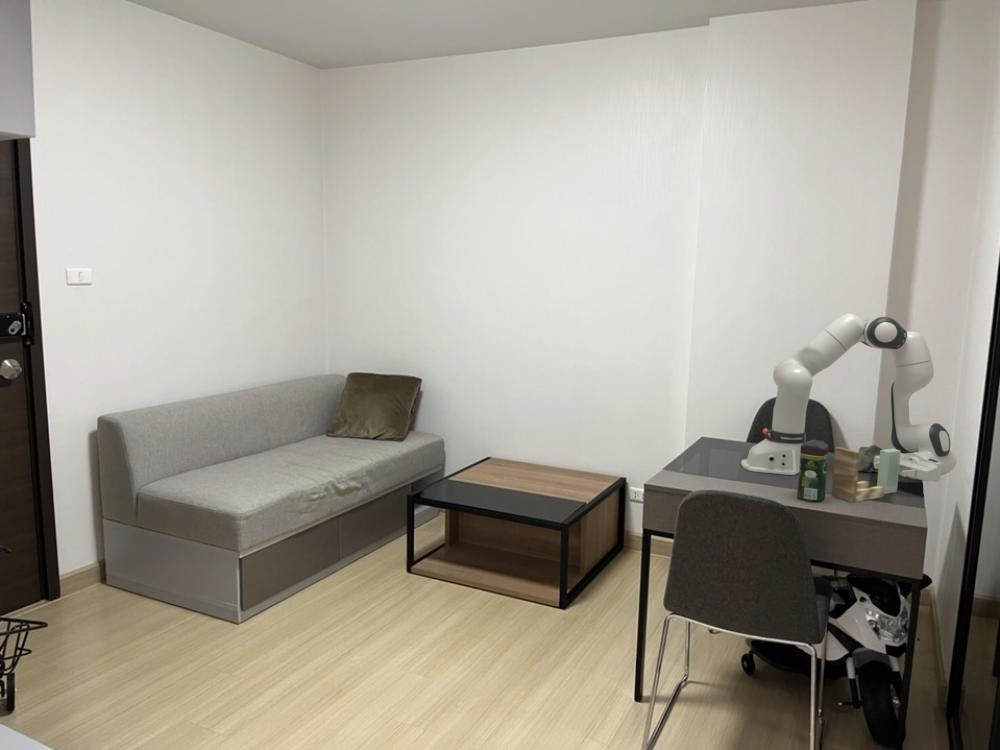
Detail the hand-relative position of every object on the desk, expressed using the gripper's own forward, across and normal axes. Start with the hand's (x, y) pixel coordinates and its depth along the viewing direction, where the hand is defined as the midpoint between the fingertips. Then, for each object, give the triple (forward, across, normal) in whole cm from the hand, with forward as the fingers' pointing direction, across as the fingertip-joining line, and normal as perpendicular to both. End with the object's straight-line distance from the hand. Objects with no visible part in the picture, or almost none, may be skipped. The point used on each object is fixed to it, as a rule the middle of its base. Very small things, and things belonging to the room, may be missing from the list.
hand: (888, 469), depth 251 cm
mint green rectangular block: (0, 0, +8) cm, 8 cm away
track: (+14, 0, +8) cm, 16 cm away
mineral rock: (-17, -18, +8) cm, 26 cm away
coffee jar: (+29, -5, +8) cm, 31 cm away
